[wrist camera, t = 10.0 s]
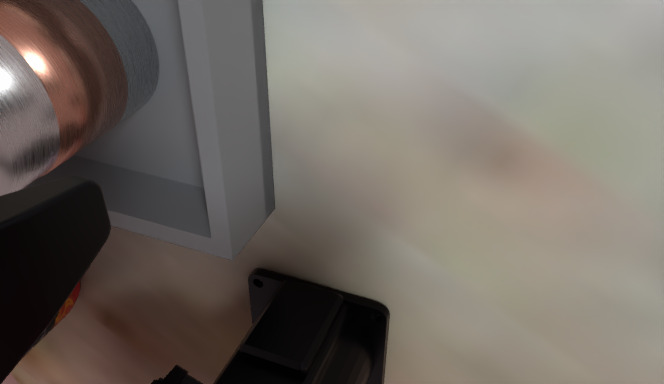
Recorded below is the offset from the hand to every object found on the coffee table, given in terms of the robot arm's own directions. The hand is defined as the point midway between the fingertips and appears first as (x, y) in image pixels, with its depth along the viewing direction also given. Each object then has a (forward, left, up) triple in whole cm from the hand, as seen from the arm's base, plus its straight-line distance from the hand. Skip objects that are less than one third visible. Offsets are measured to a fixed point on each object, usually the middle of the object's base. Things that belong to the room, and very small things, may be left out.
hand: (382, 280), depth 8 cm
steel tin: (-3, +15, -11) cm, 19 cm away
